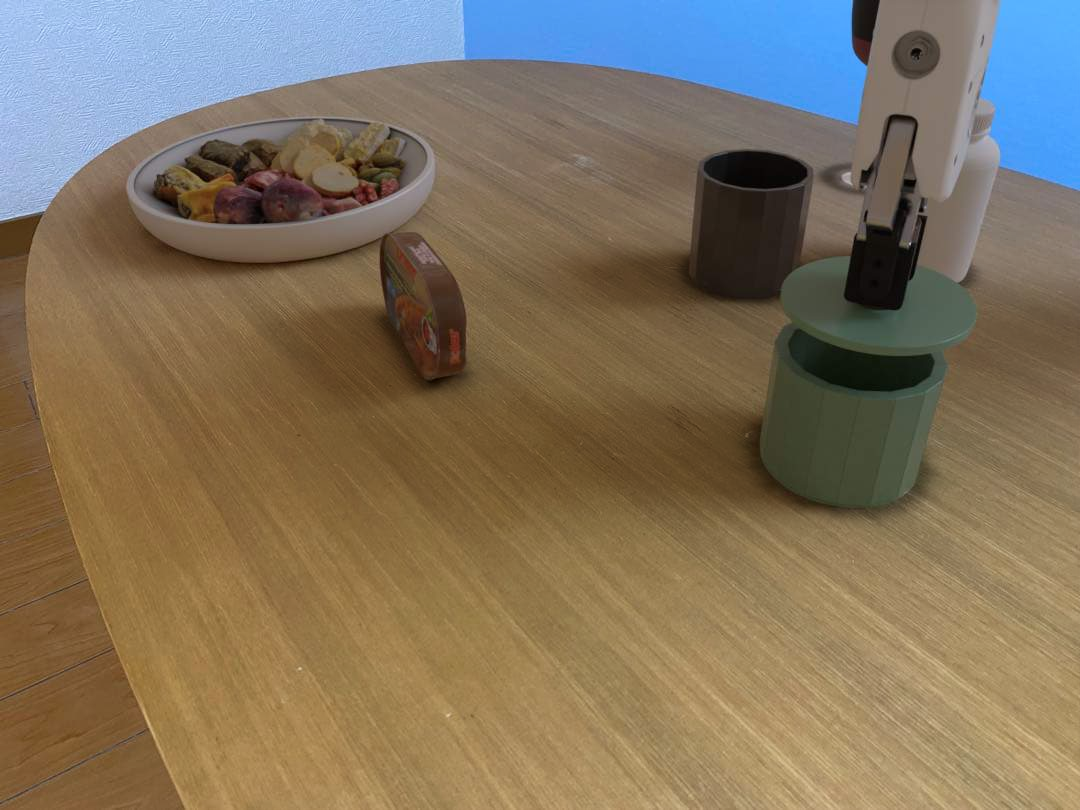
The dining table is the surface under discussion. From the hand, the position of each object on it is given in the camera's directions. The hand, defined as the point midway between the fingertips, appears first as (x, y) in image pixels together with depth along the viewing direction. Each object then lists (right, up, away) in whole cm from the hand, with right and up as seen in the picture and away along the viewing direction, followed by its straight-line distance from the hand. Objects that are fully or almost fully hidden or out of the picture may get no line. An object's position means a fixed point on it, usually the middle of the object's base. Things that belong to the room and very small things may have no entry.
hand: (879, 286), depth 55 cm
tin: (-29, -3, +20) cm, 35 cm away
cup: (-2, +4, +29) cm, 29 cm away
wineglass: (+15, +17, +47) cm, 52 cm away
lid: (0, -1, +1) cm, 1 cm away
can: (0, -11, +7) cm, 13 cm away
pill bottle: (+14, +5, +30) cm, 33 cm away
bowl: (-45, +13, +42) cm, 63 cm away
